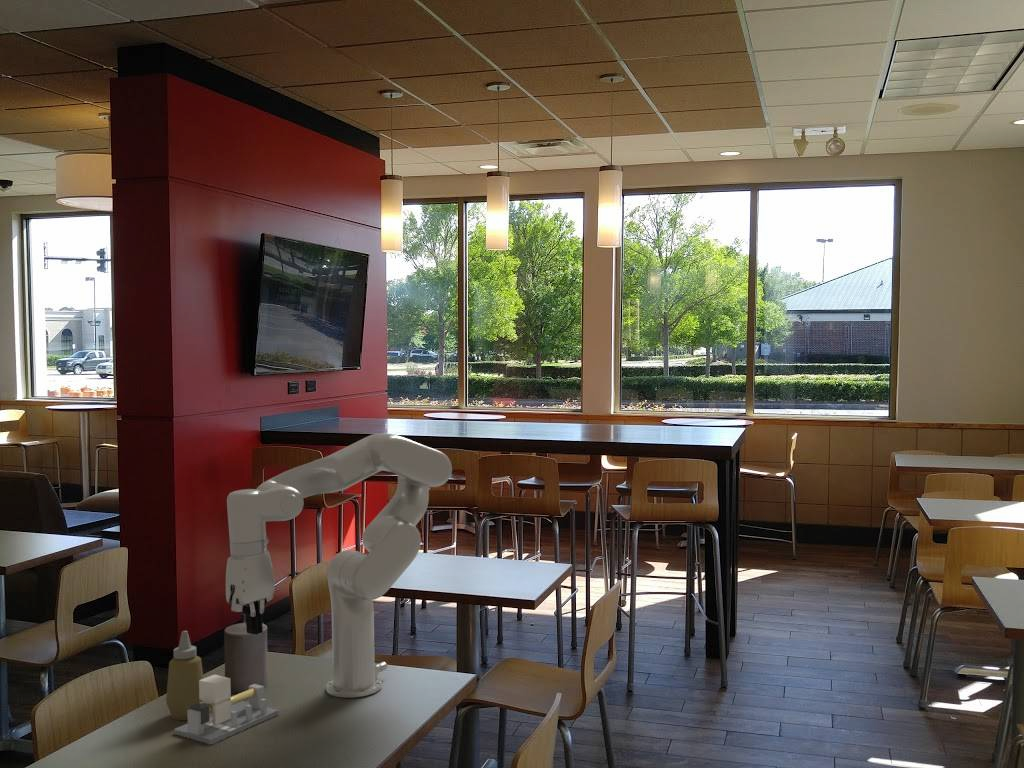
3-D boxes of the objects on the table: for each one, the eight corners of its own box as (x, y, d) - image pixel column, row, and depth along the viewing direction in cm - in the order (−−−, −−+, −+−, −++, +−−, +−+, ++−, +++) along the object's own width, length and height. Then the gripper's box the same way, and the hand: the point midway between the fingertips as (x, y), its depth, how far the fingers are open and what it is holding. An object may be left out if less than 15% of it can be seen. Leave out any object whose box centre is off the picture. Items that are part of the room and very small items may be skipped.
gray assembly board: (242, 705, 203) (242, 677, 203) (278, 714, 197) (278, 686, 197) (173, 733, 187) (173, 704, 187) (210, 744, 182) (210, 714, 182)
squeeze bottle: (193, 723, 193) (191, 637, 192) (158, 721, 194) (156, 636, 194) (213, 709, 201) (211, 627, 200) (179, 707, 202) (177, 625, 202)
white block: (215, 714, 193) (214, 674, 192) (231, 718, 190) (230, 678, 190) (199, 720, 189) (199, 680, 189) (215, 724, 187) (214, 684, 186)
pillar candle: (215, 689, 213) (214, 624, 213) (248, 676, 222) (247, 614, 221) (245, 697, 208) (244, 631, 208) (277, 684, 217) (276, 620, 216)
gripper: (262, 539, 206) (268, 620, 206) (208, 554, 193) (215, 641, 194) (287, 541, 202) (292, 624, 202) (233, 557, 189) (240, 646, 190)
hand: (254, 632), depth 198 cm, fingers closed
